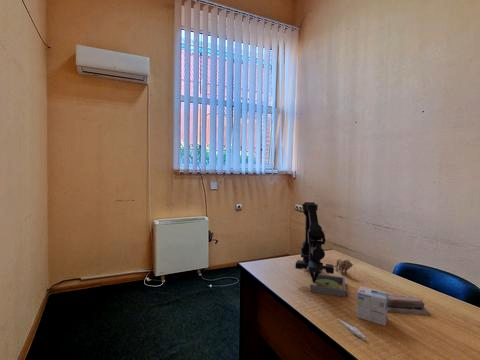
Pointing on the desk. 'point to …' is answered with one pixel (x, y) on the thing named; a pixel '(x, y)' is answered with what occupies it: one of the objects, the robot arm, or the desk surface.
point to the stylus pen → (353, 330)
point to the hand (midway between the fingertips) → (314, 282)
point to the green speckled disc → (327, 283)
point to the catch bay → (327, 289)
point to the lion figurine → (343, 265)
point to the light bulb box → (372, 305)
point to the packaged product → (406, 305)
